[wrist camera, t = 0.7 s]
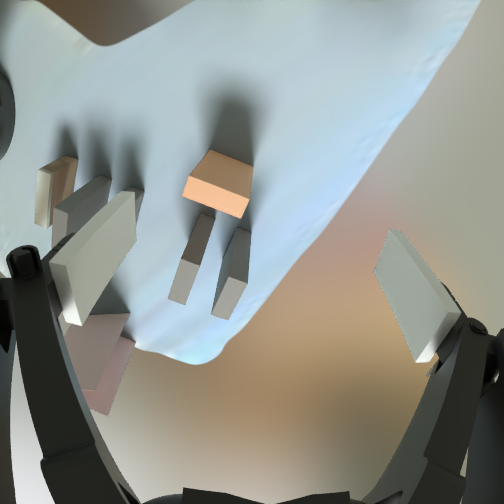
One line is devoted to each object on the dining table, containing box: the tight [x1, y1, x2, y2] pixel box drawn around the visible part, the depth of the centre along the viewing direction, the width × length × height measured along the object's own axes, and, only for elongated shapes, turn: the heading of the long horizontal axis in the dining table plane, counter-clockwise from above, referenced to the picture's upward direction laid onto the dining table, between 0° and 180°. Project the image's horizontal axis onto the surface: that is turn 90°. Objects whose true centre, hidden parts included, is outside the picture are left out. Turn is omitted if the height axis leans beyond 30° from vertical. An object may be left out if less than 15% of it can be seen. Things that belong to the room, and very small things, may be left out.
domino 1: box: [52, 175, 112, 248], centre depth 30 cm, size 2×5×10 cm, turn 157°
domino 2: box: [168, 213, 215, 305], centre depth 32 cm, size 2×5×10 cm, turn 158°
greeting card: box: [64, 313, 136, 416], centre depth 38 cm, size 11×7×15 cm, turn 65°
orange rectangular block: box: [182, 150, 253, 219], centre depth 28 cm, size 2×5×10 cm, turn 67°
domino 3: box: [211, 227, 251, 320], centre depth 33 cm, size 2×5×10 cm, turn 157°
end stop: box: [35, 155, 78, 229], centre depth 30 cm, size 2×7×6 cm, turn 157°
